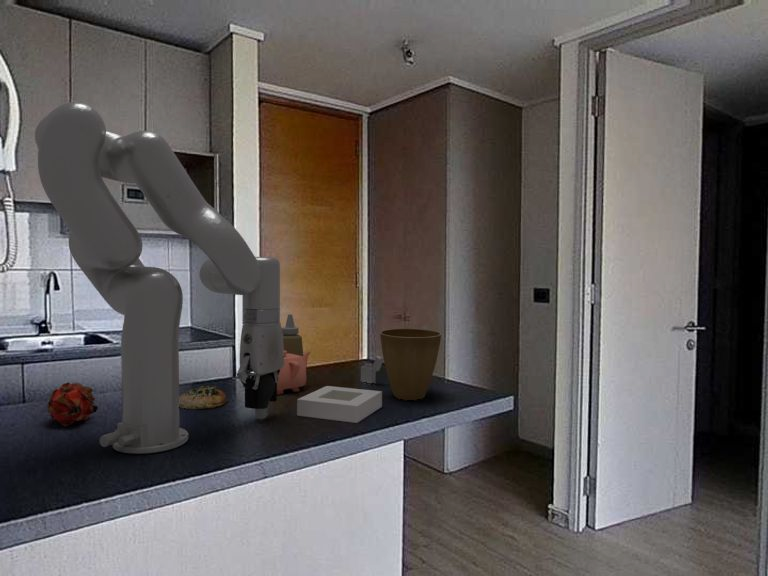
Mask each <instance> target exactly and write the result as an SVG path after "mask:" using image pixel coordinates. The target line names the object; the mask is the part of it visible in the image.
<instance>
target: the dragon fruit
mask: <svg viewBox="0 0 768 576" xmlns="http://www.w3.org/2000/svg"><path fill="white" fill-rule="evenodd" d="M92 392H93V388H92V387H90V386H86V385H85V386H84V385H83V384H82V383H80V382H72V383H70V382H64V383H61V386H60V387H59V389H58V388H55V389H54V390H53V391H52V392H51V393H50V394H49V396H48V398H49V401H48V402H47V406H46V408H47V412H49V413H50V418H51V420H52V421H57V422H58V423H59V424H60V425H61V426H64V427H70V426H72V425H73V424H74V423H75V422H79V421H80V422H82V421H81V420H84V421H86V420H87V419H88V418H89V417H90V416H91V414H94V413H97V411H98V410H99V407H100V406H99V405H98V404H97V405H95V402H94V401H95V400H96V398H95V396H94V395H93V394H92ZM72 423H73V424H72ZM71 424H72V425H71Z"/></svg>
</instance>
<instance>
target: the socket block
mask: <svg viewBox="0 0 768 576" xmlns="http://www.w3.org/2000/svg"><path fill="white" fill-rule="evenodd" d="M382 407H383V391H382V390H381V391H380V390H373V389H372V390H371V389H359V388H352V387H342V386H331V385H326V386H323V387H321V388H318V389H317V390H315V391H312V392H310V393H308V394H306V395H304V396H301V397H299V398H297V399H296V416H299V417H305V418H306V417H307V418H314V419H321V420H322V419H323V420H328V421H329V420H330V421H338V422H339V421H340V422H346V423H353V424H354V423H355V424H359V422H361V421H363V420H364V419H366V418H368V416H370V415H372V414H373V413H374V412H376V411H377V410H379V409H381V408H382Z"/></svg>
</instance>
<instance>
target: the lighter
mask: <svg viewBox="0 0 768 576" xmlns="http://www.w3.org/2000/svg"><path fill="white" fill-rule="evenodd" d="M383 363H384V358H383V355H381V354H380V355H376V357H375V359H374V363H373V364H372V363H364V366H363V365H362V366H360V382H361V381H362V382H367V383H375V384H376V375H377V374H376V373H377V372H379V371H380V370H381V367H382V365H383Z"/></svg>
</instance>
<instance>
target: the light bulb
mask: <svg viewBox="0 0 768 576" xmlns="http://www.w3.org/2000/svg"><path fill="white" fill-rule="evenodd" d="M250 378H251V379H252V381H253V380H254V377H253V376H250ZM257 389H260V408H258V409H254V411H255V412H254V415H255V416H254V417H255V418H256V419H258V421H261V422H262V421H264V419H266V418H267V417H268V408H269V404H270V402H271V401H270V399H271V397H272V395H273V393H274V390H275V382H274V379H273V378H272V377H271V376H270V375H269V374H265V375H260V378H259V383H258V388H257Z"/></svg>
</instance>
